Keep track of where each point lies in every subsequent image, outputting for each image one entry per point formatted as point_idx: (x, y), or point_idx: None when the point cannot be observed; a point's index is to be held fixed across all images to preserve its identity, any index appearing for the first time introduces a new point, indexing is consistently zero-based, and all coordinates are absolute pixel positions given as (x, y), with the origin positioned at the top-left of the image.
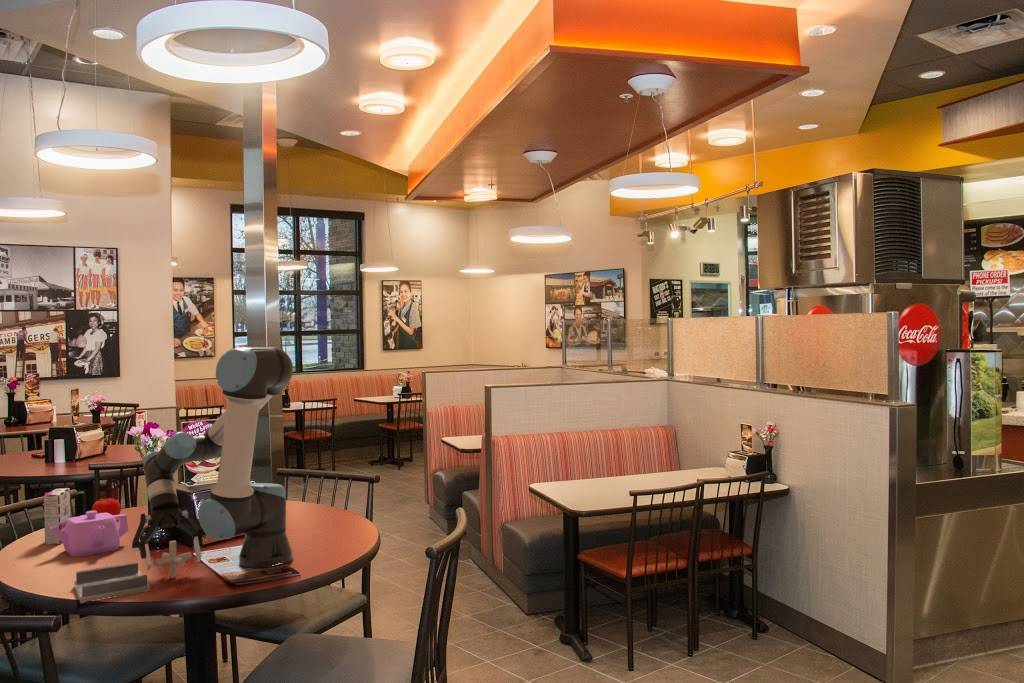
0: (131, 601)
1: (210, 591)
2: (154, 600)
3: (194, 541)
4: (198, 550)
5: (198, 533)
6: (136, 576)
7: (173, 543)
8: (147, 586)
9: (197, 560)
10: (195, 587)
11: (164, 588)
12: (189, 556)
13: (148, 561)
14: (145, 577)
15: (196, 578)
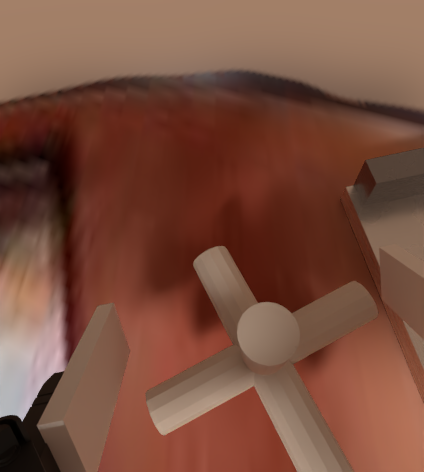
0: (381, 118)
1: (135, 130)
2: (305, 106)
3: (86, 433)
4: (97, 326)
5: (6, 462)
6: (419, 174)
7: (259, 307)
8: (352, 187)
9: (126, 345)
10: (175, 183)
11: (285, 211)
12: (162, 382)
13: (404, 252)
14: (371, 161)
15: (160, 294)
